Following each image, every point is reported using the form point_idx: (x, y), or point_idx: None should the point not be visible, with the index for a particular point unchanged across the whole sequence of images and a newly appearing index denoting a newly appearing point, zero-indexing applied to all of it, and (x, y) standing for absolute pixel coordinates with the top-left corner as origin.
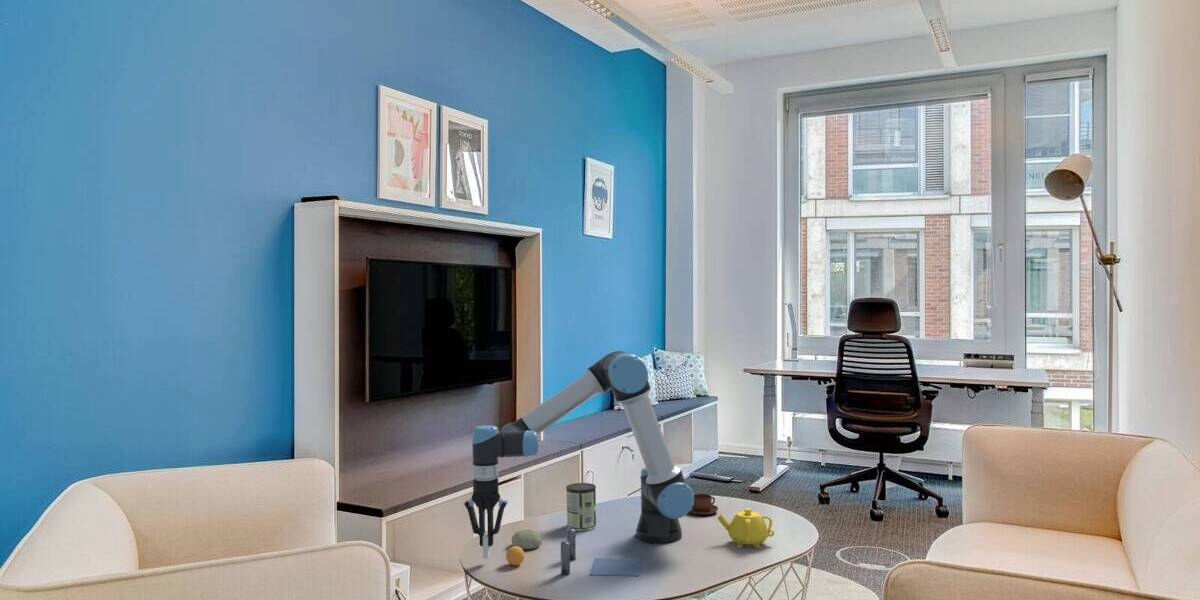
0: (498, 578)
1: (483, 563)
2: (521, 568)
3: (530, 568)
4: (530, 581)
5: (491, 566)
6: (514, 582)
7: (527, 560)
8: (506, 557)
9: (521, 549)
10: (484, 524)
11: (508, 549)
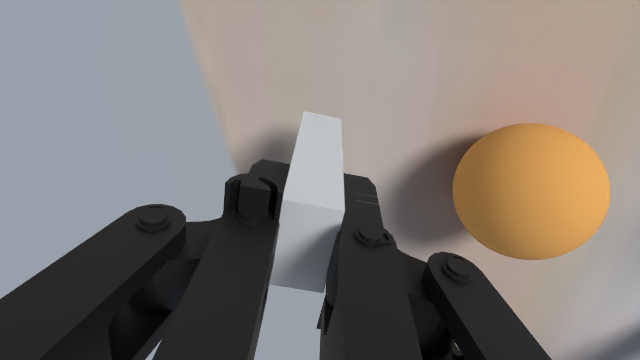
0: None
1: (296, 107)
2: None
3: None
4: None
5: (349, 166)
6: None
7: (603, 83)
8: (456, 208)
9: (597, 229)
10: (255, 333)
11: (493, 214)
